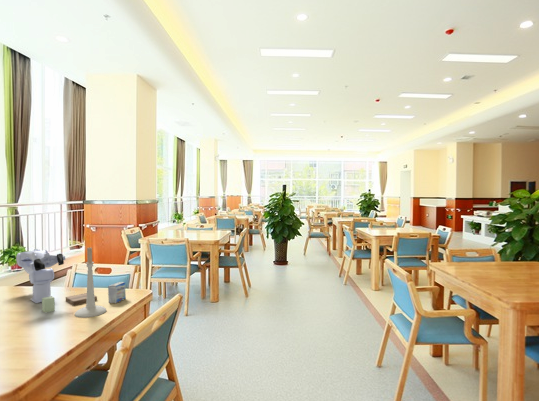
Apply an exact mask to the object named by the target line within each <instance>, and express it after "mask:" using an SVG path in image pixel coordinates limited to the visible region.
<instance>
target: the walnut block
mask: <svg viewBox="0 0 539 401" xmlns="http://www.w3.org/2000/svg"><path fill="white" fill-rule="evenodd" d="M94 298H95V302H96V301H98V296H97V295H95V294H94ZM86 300H87V292H83V293H79V294H76V295H75V294H74V295H70V296H65V302H66V303H67V304H71V305H72V306H78V305H82V304H86Z"/></svg>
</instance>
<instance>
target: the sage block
mask: <svg viewBox="0 0 539 401" xmlns="http://www.w3.org/2000/svg"><path fill="white" fill-rule="evenodd" d="M55 302H56V301H55V297H54V296H52V295H51V296H50V297H45V298H42V302H41V310H42V311H41V312H43V313H50V312H54V311H55V310H56V307H55Z"/></svg>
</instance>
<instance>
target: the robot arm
mask: <svg viewBox="0 0 539 401" xmlns="http://www.w3.org/2000/svg"><path fill="white" fill-rule="evenodd" d="M15 257H16V263H17V264H16V265H17V266H18V267H20V268H23V269H24V272H26V274H28V279H29V282H30V284H31V285H32V284H33V286H32V298H30V300H31V301H32V302H33V303H35V304H38V303H42V298H45V297H50V296H52V295H51V293H52V292H51V283H52V281H54V279H55V271H54V269H53V268H51V267H52V266H55V265H56V264H58V266H61V265H64V264H65V262H64V261H66V256H65V255H64V254H63V253H57V254H55V255H54V254H50V253H49V251H48V250H47V249H44V250H40V249H38V248H34V249H33V250H30V251H22V252H17V254H16V256H15Z"/></svg>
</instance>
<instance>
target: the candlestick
mask: <svg viewBox="0 0 539 401" xmlns="http://www.w3.org/2000/svg"><path fill="white" fill-rule="evenodd" d="M86 251H87V252H86V254H87V255H86V257H87V259H86V260H87V261H86V262H85V264H86V268H87V273H86V274H87V276H86V277H87V278H86V279H87V280H86V293H87V300H86V303H85V304H86V305H85V306H83V307H81V308H79V309H77V310H76V311H75V312H74V317H76V318H81V319H82V318H83V319H84V318H86V319H87V318H92V317H97V316H101V315H104V314H105V313H106V312H107V307H104V306H102V305H96V301H95V298H94V295H95V286H94V274H93V273H94V272H93V271H94V270H93V267H94V263H95V262H94V261H93V247H86Z"/></svg>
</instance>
